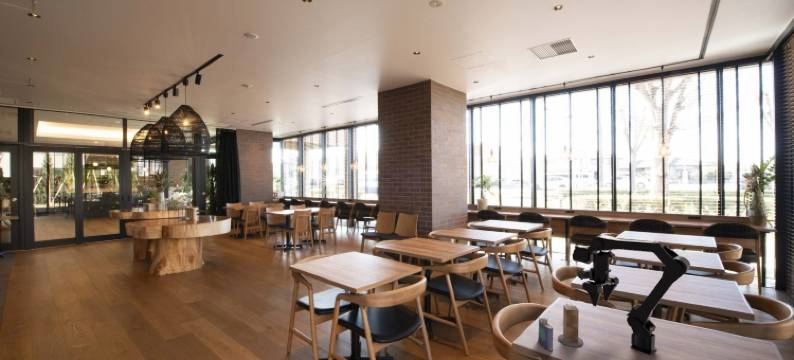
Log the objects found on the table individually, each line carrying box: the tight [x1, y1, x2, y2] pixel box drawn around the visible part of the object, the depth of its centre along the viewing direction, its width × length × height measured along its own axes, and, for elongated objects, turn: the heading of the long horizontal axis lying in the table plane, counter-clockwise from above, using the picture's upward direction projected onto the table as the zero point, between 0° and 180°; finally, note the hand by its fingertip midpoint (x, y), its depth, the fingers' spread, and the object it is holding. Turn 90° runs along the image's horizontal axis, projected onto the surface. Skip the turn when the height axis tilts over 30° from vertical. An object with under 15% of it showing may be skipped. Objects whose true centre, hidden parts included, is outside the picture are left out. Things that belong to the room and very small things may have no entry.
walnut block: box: [562, 304, 580, 343], centre depth 139 cm, size 4×4×13 cm
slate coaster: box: [557, 333, 584, 348], centre depth 139 cm, size 9×9×1 cm
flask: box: [538, 317, 554, 352], centre depth 136 cm, size 9×3×11 cm, turn 2°
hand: (600, 303), depth 144 cm, fingers open, 9 cm apart
